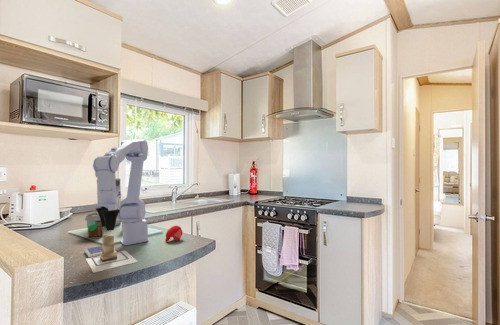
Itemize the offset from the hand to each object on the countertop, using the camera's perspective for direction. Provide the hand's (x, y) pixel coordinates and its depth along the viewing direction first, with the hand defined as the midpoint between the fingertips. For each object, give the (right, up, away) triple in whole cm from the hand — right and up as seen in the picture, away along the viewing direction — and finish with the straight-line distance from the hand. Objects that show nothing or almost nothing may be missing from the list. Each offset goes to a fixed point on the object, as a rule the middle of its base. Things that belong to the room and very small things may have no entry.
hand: (107, 228), depth 96 cm
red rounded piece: (+18, -10, +20) cm, 28 cm away
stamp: (+1, -10, -2) cm, 10 cm away
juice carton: (-27, -12, +54) cm, 61 cm away
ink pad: (-6, -11, +6) cm, 14 cm away
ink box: (-11, -11, +42) cm, 45 cm away
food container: (-23, -11, +31) cm, 40 cm away
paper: (+3, -10, -3) cm, 11 cm away
